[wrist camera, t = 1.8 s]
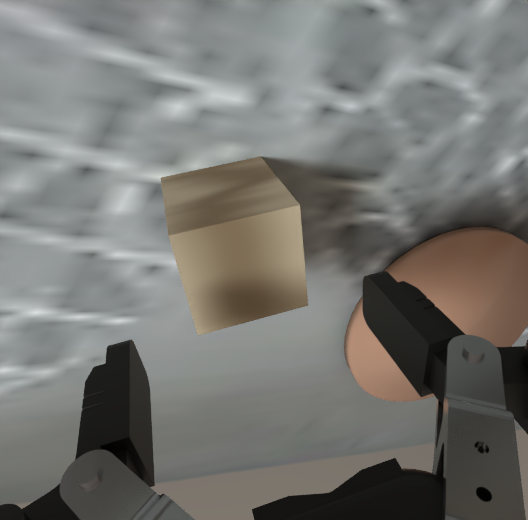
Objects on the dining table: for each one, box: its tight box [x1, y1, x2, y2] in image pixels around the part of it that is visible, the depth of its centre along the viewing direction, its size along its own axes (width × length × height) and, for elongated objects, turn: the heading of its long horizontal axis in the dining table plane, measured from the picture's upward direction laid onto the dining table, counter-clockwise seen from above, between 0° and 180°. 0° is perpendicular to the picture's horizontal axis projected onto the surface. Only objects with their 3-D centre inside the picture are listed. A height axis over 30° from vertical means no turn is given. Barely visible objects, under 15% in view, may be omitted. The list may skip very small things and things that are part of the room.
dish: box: [344, 227, 528, 402], centre depth 29 cm, size 15×15×2 cm
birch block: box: [161, 157, 308, 335], centre depth 19 cm, size 5×5×6 cm
